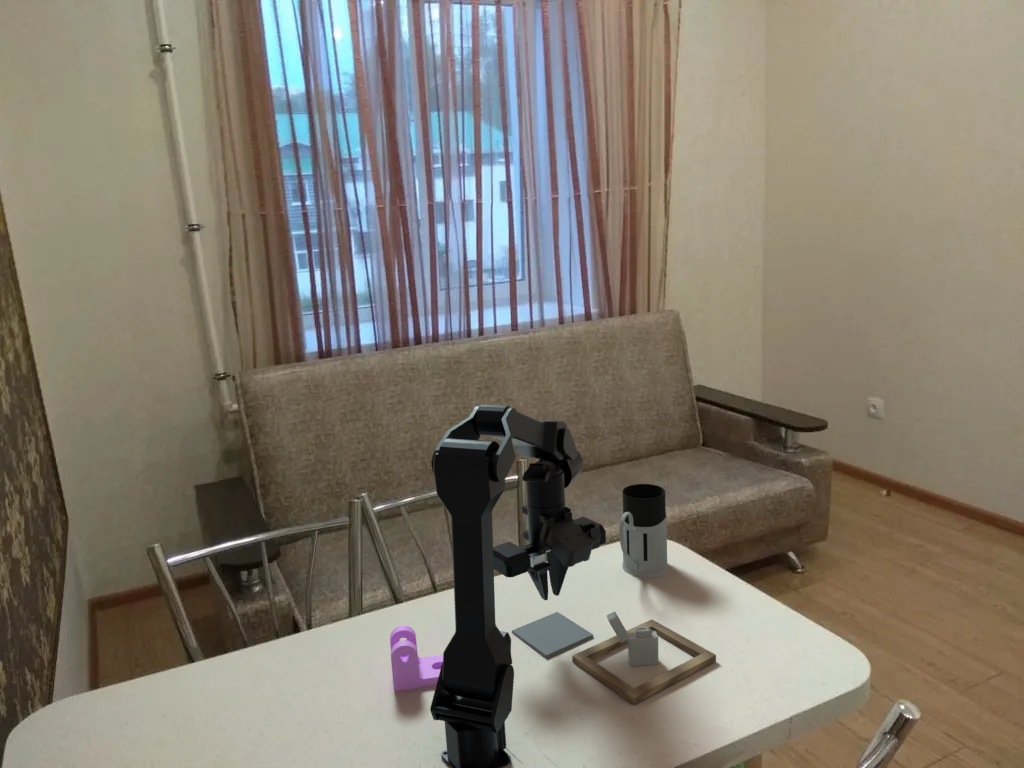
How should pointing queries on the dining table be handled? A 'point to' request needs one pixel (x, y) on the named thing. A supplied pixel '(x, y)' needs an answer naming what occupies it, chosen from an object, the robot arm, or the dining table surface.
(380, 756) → the dining table surface
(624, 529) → the glass holder
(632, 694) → the frame
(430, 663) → the bracket
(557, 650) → the mat
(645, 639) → the lighter
